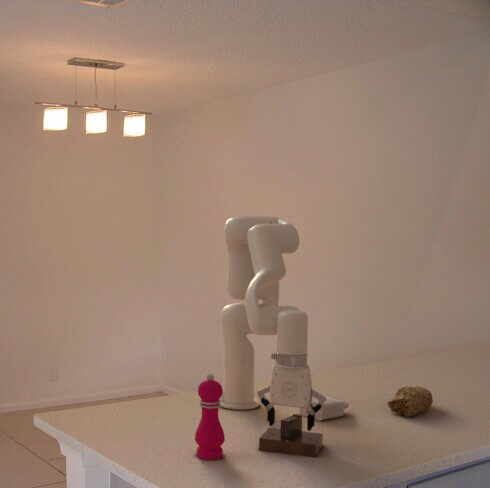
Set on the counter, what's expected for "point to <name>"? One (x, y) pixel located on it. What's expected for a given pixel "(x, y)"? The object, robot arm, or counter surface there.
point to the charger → (327, 409)
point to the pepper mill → (209, 420)
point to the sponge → (410, 401)
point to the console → (291, 443)
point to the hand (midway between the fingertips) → (290, 427)
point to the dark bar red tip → (291, 426)
